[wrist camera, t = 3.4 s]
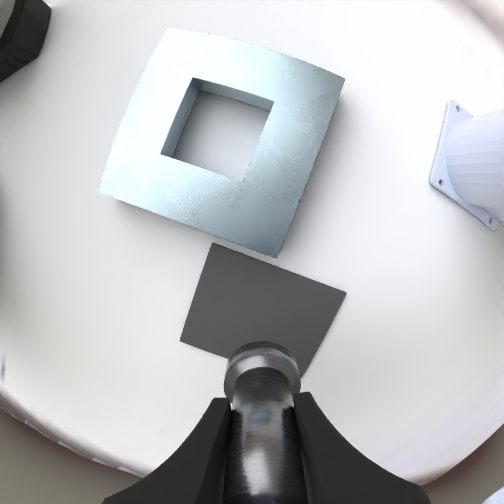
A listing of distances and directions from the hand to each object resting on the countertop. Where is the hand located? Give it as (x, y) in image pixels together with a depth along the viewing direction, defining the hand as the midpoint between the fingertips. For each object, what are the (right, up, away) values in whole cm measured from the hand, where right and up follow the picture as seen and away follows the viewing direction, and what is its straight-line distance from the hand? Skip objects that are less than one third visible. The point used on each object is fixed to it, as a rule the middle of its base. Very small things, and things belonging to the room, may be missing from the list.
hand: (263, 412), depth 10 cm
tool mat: (0, +2, +10) cm, 10 cm away
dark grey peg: (0, +1, +3) cm, 3 cm away
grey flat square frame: (-3, +14, +7) cm, 16 cm away
